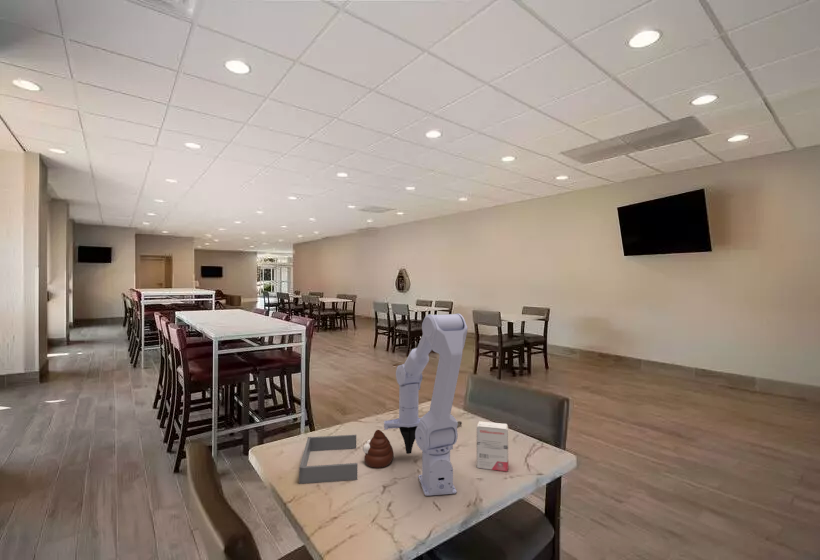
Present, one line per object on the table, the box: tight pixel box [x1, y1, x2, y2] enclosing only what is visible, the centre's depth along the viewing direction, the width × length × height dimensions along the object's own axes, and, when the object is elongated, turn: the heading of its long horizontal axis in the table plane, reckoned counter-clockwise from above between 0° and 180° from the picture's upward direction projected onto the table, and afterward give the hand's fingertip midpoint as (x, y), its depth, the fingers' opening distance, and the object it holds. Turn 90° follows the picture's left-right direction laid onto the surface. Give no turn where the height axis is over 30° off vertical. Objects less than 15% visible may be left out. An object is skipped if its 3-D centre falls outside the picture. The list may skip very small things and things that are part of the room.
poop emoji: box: [362, 429, 395, 469], centre depth 110 cm, size 10×8×9 cm
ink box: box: [476, 420, 509, 472], centre depth 107 cm, size 9×5×12 cm, turn 74°
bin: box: [298, 434, 359, 485], centre depth 108 cm, size 20×15×4 cm
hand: (408, 452), depth 111 cm, fingers closed
